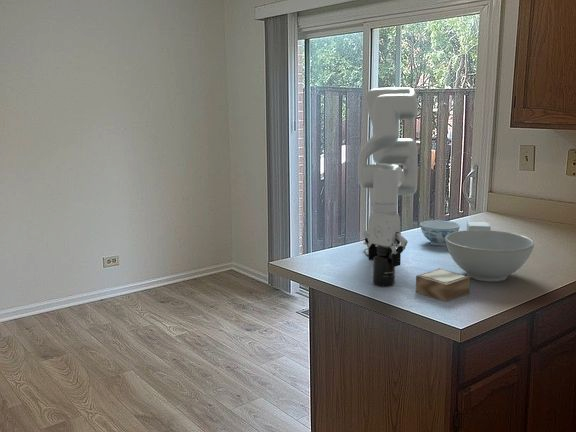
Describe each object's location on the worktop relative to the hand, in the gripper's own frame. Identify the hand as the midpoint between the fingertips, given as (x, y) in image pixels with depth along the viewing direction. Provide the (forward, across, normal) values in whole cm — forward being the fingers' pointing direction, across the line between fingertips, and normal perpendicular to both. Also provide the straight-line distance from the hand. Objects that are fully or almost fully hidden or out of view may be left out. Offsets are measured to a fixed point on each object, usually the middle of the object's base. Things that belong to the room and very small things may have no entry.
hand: (384, 262), depth 177 cm
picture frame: (+7, +16, +8) cm, 19 cm away
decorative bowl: (+7, +15, +32) cm, 36 cm away
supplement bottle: (+7, -1, +1) cm, 7 cm away
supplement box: (+6, +1, +47) cm, 47 cm away
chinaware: (+6, -21, +54) cm, 58 cm away
